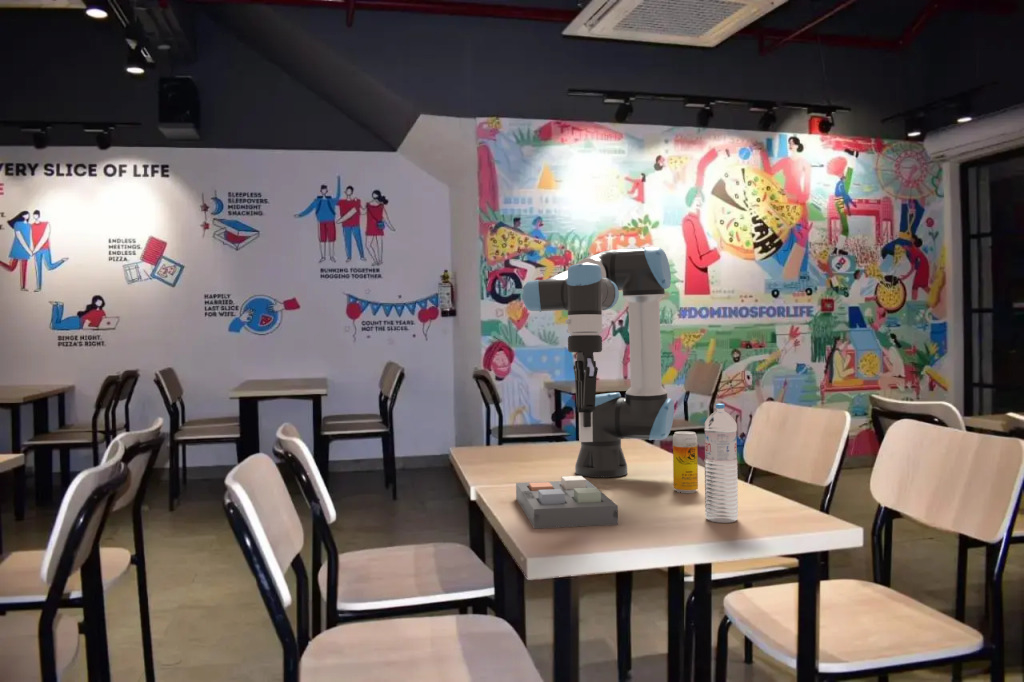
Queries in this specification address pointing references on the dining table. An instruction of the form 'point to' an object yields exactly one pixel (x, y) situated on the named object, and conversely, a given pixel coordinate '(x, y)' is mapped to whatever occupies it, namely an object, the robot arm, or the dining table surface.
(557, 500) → the slate key
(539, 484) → the terracotta key
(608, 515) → the keypad
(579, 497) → the sage key
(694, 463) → the beer can
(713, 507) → the water bottle
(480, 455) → the dining table surface
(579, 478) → the cream key
